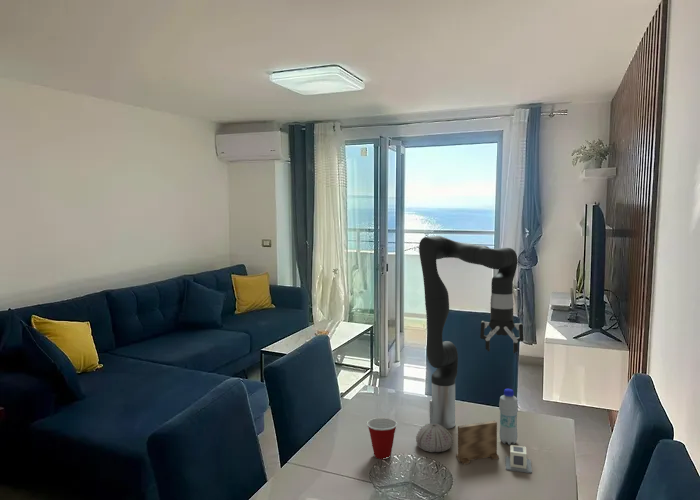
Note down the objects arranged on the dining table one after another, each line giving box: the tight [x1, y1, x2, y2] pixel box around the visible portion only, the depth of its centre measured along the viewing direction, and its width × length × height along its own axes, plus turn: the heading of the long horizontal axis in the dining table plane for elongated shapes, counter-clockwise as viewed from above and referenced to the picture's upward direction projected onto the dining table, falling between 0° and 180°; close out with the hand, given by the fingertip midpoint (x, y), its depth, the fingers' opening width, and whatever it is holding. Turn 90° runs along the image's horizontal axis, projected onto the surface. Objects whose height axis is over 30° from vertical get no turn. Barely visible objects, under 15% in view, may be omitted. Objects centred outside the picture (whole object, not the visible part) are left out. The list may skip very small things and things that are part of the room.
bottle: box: [498, 388, 519, 446], centre depth 175 cm, size 7×7×20 cm
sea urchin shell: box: [415, 423, 454, 453], centre depth 173 cm, size 13×14×8 cm
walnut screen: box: [455, 420, 500, 465], centre depth 164 cm, size 14×5×12 cm, turn 104°
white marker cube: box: [509, 444, 528, 469], centre depth 159 cm, size 5×5×5 cm
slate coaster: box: [505, 455, 533, 474], centre depth 159 cm, size 8×8×1 cm
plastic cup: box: [366, 417, 398, 460], centre depth 168 cm, size 11×11×12 cm
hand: (501, 351), depth 166 cm, fingers open, 8 cm apart
